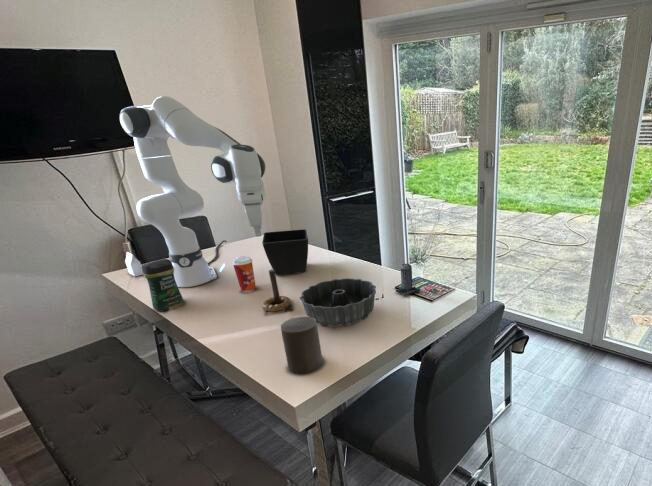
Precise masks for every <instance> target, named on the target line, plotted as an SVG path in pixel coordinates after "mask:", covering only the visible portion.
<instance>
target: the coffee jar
mask: <svg viewBox="0 0 652 486" xmlns="http://www.w3.org/2000/svg"><path fill="white" fill-rule="evenodd" d="M141 267H142V272H143V274H142V275H143V277H144V278H145V279H146V280H147V284H148V287H149V293H150V300H151V304H152V307H153V309H154V310H156V311H161V312H163V311H168V310H170V308H171V307H175V306H178V305H179V304H182V303H183V302H184V299H183V296H182V294H181V290H180V288H179V287H178V286H177V284H176V281H175V278H174V267H173V265H172V262H171V260H170V259H169V258H165V257H164V258H160V259H156V260H153V261H150V262H145V263H141Z"/></svg>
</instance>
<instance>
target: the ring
mask: <svg viewBox="0 0 652 486" xmlns="http://www.w3.org/2000/svg"><path fill="white" fill-rule="evenodd" d="M279 296H280V301H281V302H283V303H281V304H277V305H271V304H273V303H275V300H274V296H272V297H269V298H267V299H265V300H263V302H262V303H261V307H262V309H263V310H264V311H265V312H266V311H269V312H280V311H283V310H285V308H287V307H289V305H290V304H291V305H292V300H291V298H290V297H288V296H285V295H279ZM289 298H290V299H289Z"/></svg>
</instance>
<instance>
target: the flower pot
mask: <svg viewBox="0 0 652 486" xmlns="http://www.w3.org/2000/svg"><path fill="white" fill-rule="evenodd" d="M307 231H308V230H307V228H306V229H305V228H303V229H289V230H279V231H268V232H267V231H266V232H263V237H262V242H261V244H262V247H263V250H264V253H265V255H266V258H267V260H268V262H269V264H270V267H271V268H272V269H271V270H275V276H284V275H294V274H302V273H305V272H306V271H307V264H308V258H309V257H308V256H309V237H308V233H307Z"/></svg>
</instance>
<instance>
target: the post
mask: <svg viewBox="0 0 652 486" xmlns="http://www.w3.org/2000/svg"><path fill="white" fill-rule="evenodd" d="M268 275H269V280H270V286H271V289H272V290H271V291H272V295H273V297H274V300H275V303H273V304H271V305H277V304H281V303H283V302H281V301H280V296H281V295H280V292H279V286H278V281H277V275H276V274H275V270H273V269H269V270H268ZM288 298H289V299H290V300H291V298H290V297H288ZM291 311H293V307H292V303H291V304H290V305H289V307H287V308H285V309H284V312H291ZM269 312H270V311H266V310H265V313H269Z"/></svg>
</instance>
